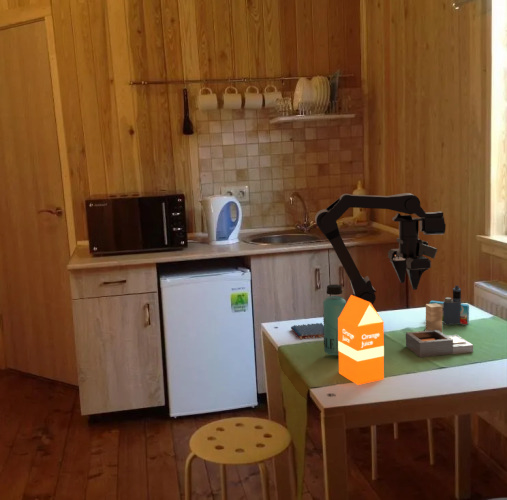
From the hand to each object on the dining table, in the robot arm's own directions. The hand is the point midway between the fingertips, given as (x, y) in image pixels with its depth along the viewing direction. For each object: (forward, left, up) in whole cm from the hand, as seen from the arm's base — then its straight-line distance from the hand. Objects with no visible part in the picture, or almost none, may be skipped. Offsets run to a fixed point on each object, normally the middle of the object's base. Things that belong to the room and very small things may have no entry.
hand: (408, 286), depth 192 cm
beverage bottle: (-29, -19, -13) cm, 37 cm away
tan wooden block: (+4, -9, -13) cm, 16 cm away
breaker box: (0, -21, -13) cm, 25 cm away
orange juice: (-27, -34, -13) cm, 45 cm away
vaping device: (+14, 0, -13) cm, 19 cm away
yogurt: (+14, +2, -13) cm, 19 cm away
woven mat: (-30, +3, -14) cm, 33 cm away
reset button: (-3, -21, -12) cm, 25 cm away
